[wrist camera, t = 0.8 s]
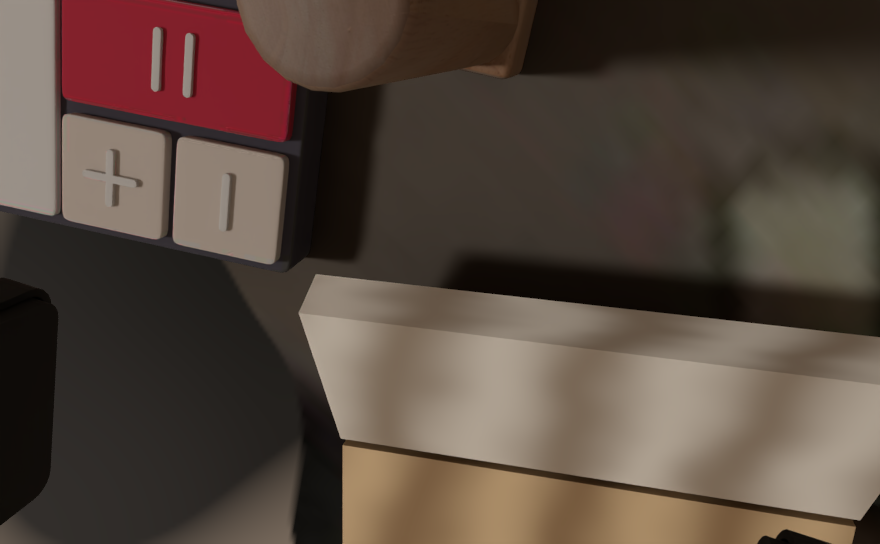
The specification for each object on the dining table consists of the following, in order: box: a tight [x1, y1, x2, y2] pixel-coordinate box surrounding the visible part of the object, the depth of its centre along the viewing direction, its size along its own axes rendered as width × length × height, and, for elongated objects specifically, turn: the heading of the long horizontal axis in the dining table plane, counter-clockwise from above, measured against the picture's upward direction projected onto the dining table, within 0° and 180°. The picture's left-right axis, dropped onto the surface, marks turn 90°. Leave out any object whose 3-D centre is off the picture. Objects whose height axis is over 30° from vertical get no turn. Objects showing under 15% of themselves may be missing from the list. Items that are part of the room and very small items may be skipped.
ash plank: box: [299, 274, 880, 520], centre depth 30 cm, size 22×9×2 cm
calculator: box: [0, 0, 328, 273], centre depth 33 cm, size 11×4×15 cm
